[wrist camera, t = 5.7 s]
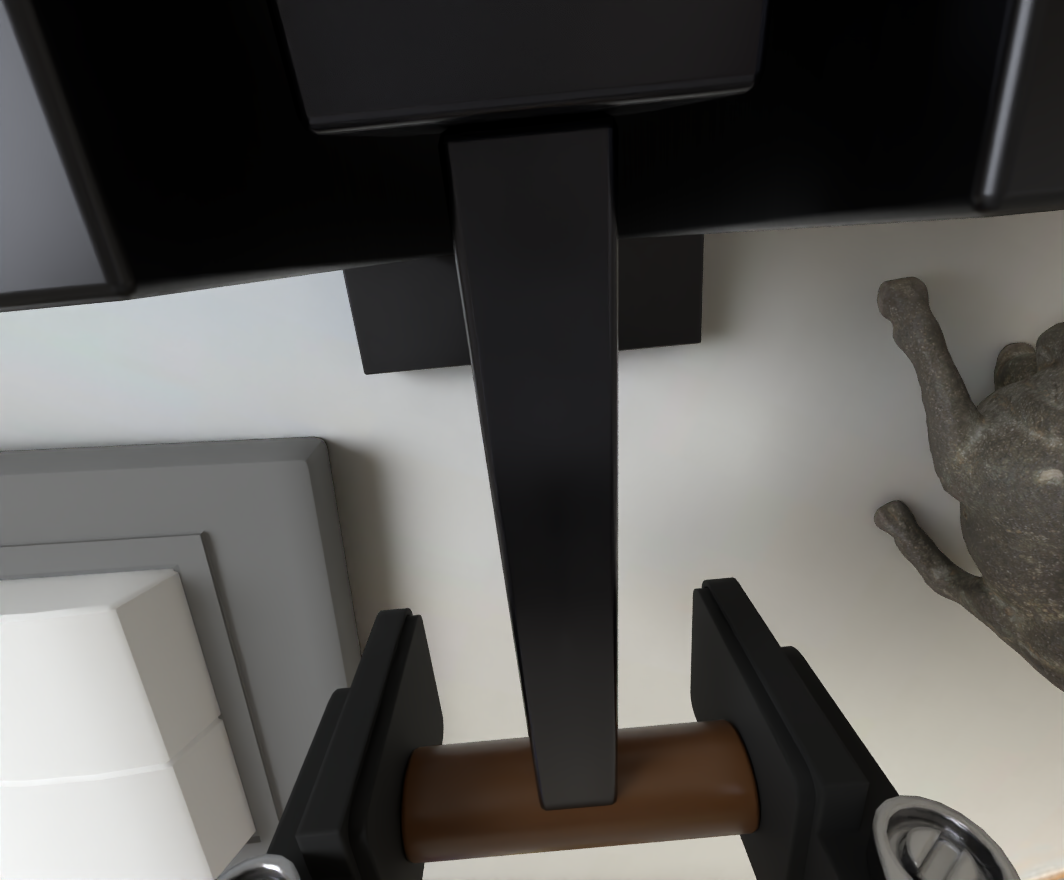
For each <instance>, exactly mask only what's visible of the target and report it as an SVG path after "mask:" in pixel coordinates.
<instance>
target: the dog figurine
mask: <svg viewBox="0 0 1064 880" xmlns="http://www.w3.org/2000/svg"><path fill="white" fill-rule="evenodd" d="M877 303H878V307H879V311H880V313H881V314H882V315H883V316H884V317H885V318H887V319H888V320H889V321H891V322H892V324H893V338H894V340H895V342H896V344H897V345H898V346H899V347H900V349H902V350H903V351H904V353H905V354H906V355H907V356H908V358H909V359H910V360H911V362H912V363H913V365H914V368H915V370H916V373H917V376H918V381H919V384H920V386H921V391H922V401H923V404H924V407H925V411H926V415H927V427H928V437H929V443H930V451H931V454H932V458H933V463H934V467H935V471H936V473H937V475H938V477H939V478H940V481H941V484H942V486H943V488H944V490H945V491H946V492H948V493H949V494H950V495H951V496H953V497H954V498H955V499H957V500H958V501H960V514H961V515H960V521H961V528H962V533H963V538H964V540H965V543H966V546H967V549H968V551H969V553H970V555H971V557H972V559H973V561H974V562H975V564H976V565H977V567H978V569H979V570H980V572H981V573H982V577H978V576H974V575H972V574H970V573H968V572H966V571H964V570H963V569H961V568H960V567H958V566H956V565H955V564H954V563H953V562H951V561H950V560H949V559H948V558H947V557H946V556H945V555H944V554H943V553H942V552H941V551H940V550H939V549H938V547H937V546H936V545H935V543H934V542H933V541H932V540H931V539H930V538H929V536H928V535H927V534H926V533H925V532H924V531H923V530H922V529H921V528H920V527H919V525H918V524H917V522H916V520H915V518H914V516H913V514H912V513H911V511H910V510H909V509H908V507H907V506H906V505H905V504H904V503H902V502H901V501H892V502H890V503H887V504H886V505H884V506H882V507H881V508H879V509H878V510H877V511H876V513H875V515H874V522H875V524H876V525H877V526H878V527H879V528H880V529H881V530H883V531H885V532H886V533H888V534H889V535H891V536H892V537H893V538H894V541H895V543H896V545H897V547H898V548H899V550H900V551H901V552H902V554H903V555H904V556H905V557H906V558H907V559H908V560H909V561H910V562H911V563H912V564H913V565H914V566H915V568H916V569H917V570H918V572H919V573H920V575H921V576H922V577H923V579H924V581H925V582H926V583H927V584H928V585H929V586H930V587H931V588H932V589H933V590H934V591H935V592H936V593H938V594H940V595H941V596H943V597H945V598H948V599H950V600H952V601H955V602H957V603H959V604H961V605H962V606H963V607H964V608H965V609H966V610H968V611H969V612H970V613H971V614H973V615H974V616H975V617H976V618H978V619H979V620H980V621H981V622H983V623H984V624H985V625H986V626H988V627H989V628H990V629H991V630H992V631H993V632H995V633H996V635H997V636H998V637H999V638H1001V639H1002V640H1003V641H1004V642H1006V643H1007V644H1008V645H1009V646H1010V647H1012V648H1013V649H1014V650H1015V651H1016V652H1018V653H1019V654H1020V655H1021V656H1022V657H1023V658H1024V659H1025V660H1026V661H1027V662H1028V663H1029V664H1030V665H1032V666H1033V667H1034V668H1035V669H1036V670H1037V671H1038V672H1039V673H1040V674H1041V675H1043V676H1044V677H1045V678H1046V679H1047V680H1049V681H1050V682H1051V683H1052V684H1054V685H1055V686H1056V687H1057V688H1059V689H1060V690H1062V691H1063V692H1064V322H1062V323H1058V324H1056V325H1054V326H1052V327H1051V328H1049V329H1048V330H1046V331H1045V332H1044V333H1042V334H1041V335H1040V337H1039V338H1038V340H1037V343H1036V352H1035V349H1034V348H1033V347H1032V346H1031V345H1029V344H1026V343H1013V344H1010V345H1008V346H1006V347H1005V348H1004V349H1003V350H1002V351H1001V353H1000V354H999V356H998V359H997V363H996V367H995V372H994V383H995V392H993V393H992V394H991V395H990V396H988V397H987V398H986V399H984V400H983V401H982V402H981V403H980V404H979V405H978V406H977V408H976V407H975V405H974V404H973V402H972V401H971V399H970V396H969V394H968V391H967V389H966V386H965V384H964V382H963V380H962V378H961V376H960V374H959V372H958V370H957V368H956V366H955V365H954V362H953V360H952V358H951V355H950V353H949V351H948V349H947V346H946V343H945V339H944V336H943V333H942V330H941V328H940V326H939V324H938V322H937V320H936V318H935V317H934V315H933V313H932V312H931V310H930V306H929V297H928V290H927V287H926V285H925V284H924V283H923V282H922V281H921V280H919V279H918V278H915V277H906V278H900V279H896V280H890V281H886V282H884V283H882V284H881V286H880V288H879V291H878V297H877Z"/></svg>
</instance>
